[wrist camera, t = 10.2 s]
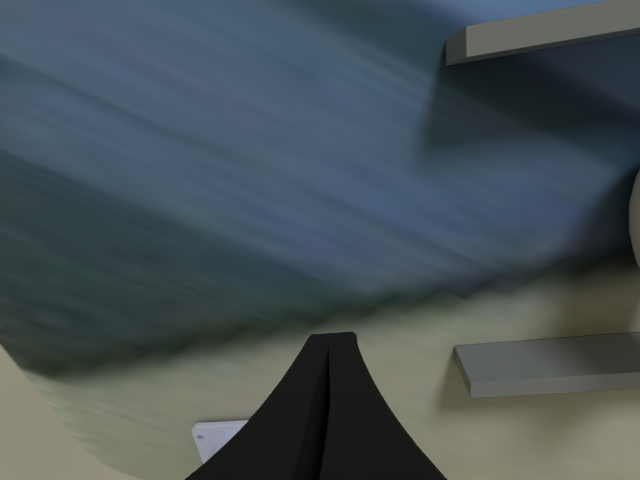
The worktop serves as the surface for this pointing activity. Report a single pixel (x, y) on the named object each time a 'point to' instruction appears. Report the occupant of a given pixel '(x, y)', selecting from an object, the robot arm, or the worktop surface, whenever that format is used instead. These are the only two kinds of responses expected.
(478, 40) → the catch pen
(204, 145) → the worktop surface
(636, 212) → the donut
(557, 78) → the worktop surface
